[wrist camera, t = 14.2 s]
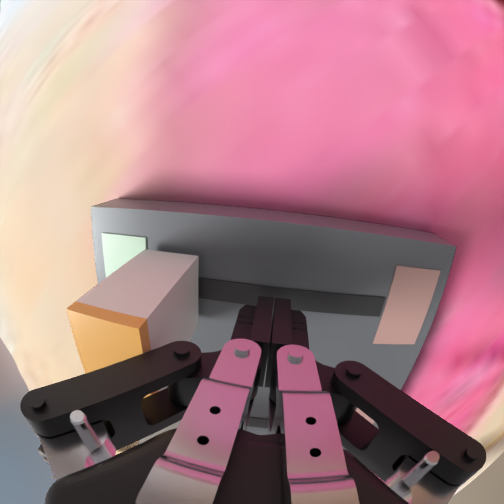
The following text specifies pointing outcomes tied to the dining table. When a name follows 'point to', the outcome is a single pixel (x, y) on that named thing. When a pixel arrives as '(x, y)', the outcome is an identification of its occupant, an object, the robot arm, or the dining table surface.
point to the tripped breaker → (137, 309)
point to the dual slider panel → (293, 277)
